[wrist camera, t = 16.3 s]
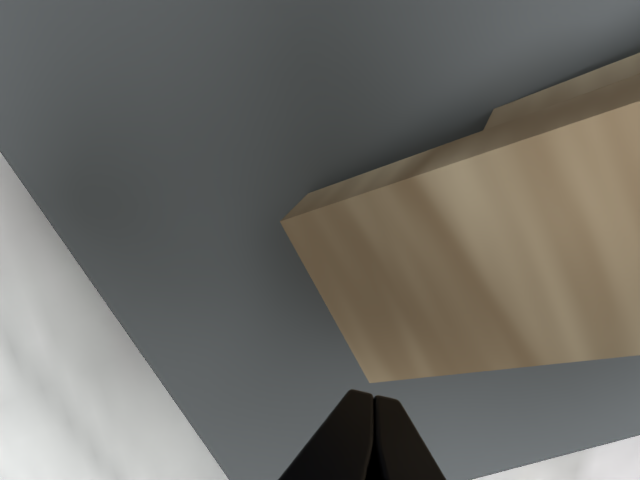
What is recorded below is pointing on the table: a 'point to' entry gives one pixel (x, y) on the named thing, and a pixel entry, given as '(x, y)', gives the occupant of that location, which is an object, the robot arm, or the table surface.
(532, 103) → the domino
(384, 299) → the domino
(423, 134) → the mat
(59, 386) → the table surface
